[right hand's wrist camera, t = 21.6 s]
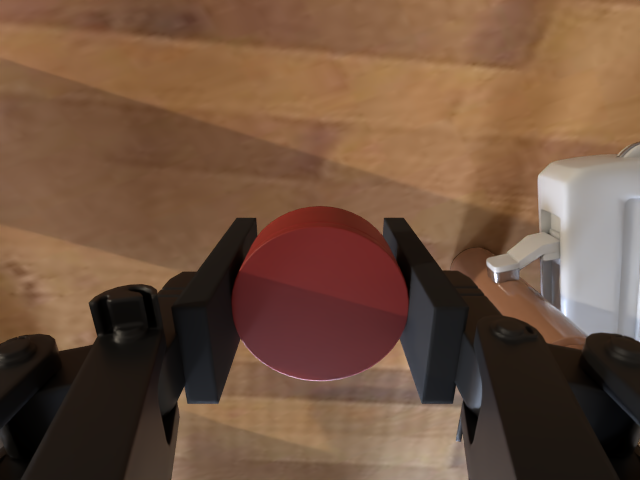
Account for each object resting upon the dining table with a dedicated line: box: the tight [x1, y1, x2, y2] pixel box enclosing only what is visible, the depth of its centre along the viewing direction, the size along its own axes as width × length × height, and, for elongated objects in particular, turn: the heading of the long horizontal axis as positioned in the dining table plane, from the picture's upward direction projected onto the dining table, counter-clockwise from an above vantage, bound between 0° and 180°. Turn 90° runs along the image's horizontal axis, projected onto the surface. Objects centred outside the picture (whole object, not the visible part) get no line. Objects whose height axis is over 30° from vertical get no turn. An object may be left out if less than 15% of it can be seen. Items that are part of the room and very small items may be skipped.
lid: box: [231, 206, 409, 381], centre depth 11 cm, size 5×5×2 cm
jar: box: [450, 247, 589, 350], centre depth 27 cm, size 4×4×16 cm
